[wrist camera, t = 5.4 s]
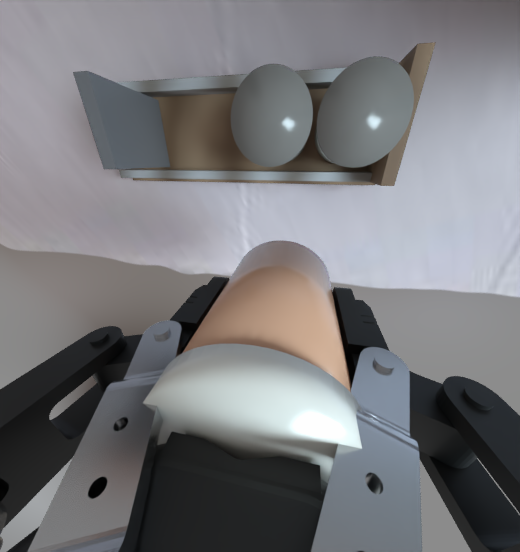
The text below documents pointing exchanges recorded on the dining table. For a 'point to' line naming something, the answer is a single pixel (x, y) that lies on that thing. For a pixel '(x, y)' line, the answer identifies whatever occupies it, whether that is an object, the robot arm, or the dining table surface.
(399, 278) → the dining table surface
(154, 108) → the pusher paddle
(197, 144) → the jar lane
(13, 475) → the robot arm
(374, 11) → the dining table surface
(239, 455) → the terracotta jar
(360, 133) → the grey jar
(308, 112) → the grey jar
